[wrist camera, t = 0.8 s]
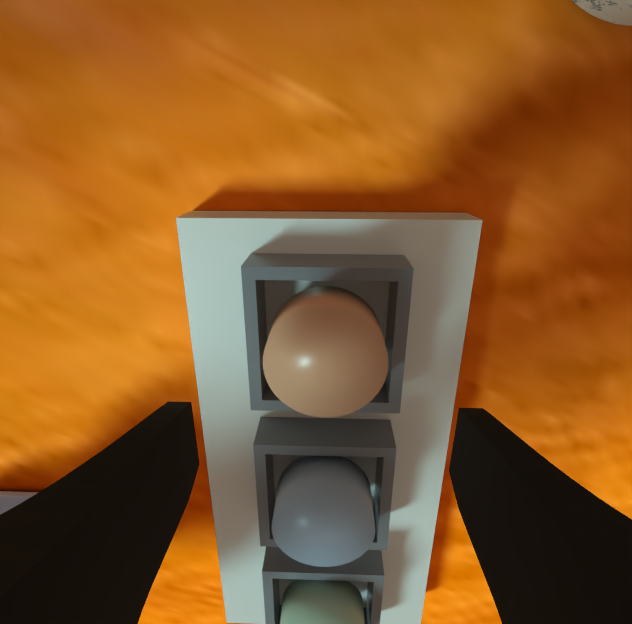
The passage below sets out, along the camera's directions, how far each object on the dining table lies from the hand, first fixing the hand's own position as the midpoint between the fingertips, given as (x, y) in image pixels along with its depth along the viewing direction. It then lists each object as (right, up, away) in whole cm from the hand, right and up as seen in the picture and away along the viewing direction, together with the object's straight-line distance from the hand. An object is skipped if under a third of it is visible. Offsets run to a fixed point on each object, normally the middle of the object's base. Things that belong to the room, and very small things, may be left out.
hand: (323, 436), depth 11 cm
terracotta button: (0, +2, +6) cm, 6 cm away
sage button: (0, -13, +12) cm, 17 cm away
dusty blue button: (0, -5, +9) cm, 10 cm away
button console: (0, -4, +12) cm, 12 cm away
